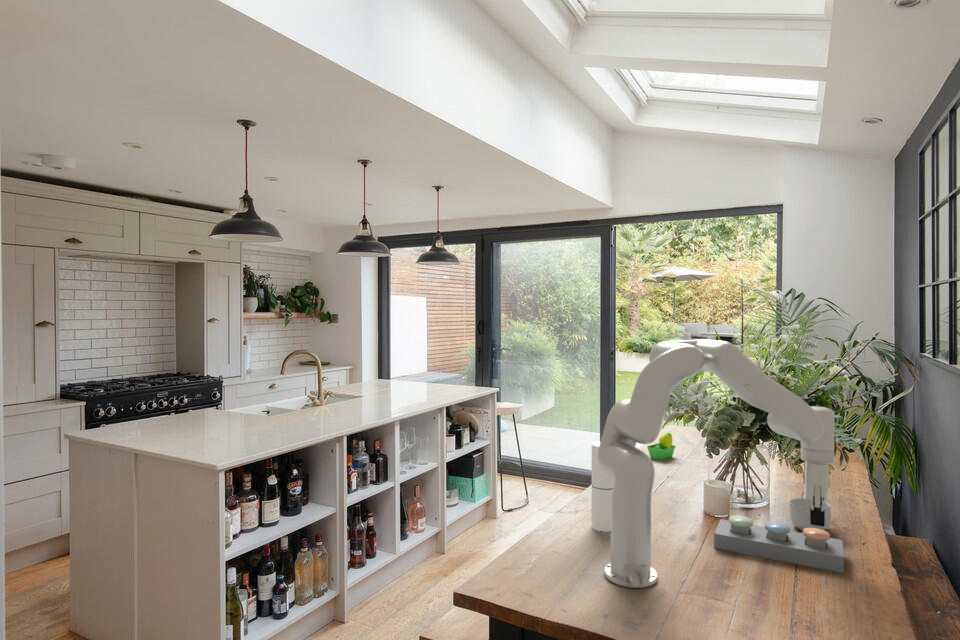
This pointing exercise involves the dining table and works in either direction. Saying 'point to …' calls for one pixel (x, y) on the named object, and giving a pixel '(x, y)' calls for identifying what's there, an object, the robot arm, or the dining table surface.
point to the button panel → (780, 547)
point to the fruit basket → (662, 448)
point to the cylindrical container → (600, 494)
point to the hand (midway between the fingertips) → (817, 524)
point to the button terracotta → (816, 537)
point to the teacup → (806, 513)
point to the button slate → (777, 530)
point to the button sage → (740, 524)
